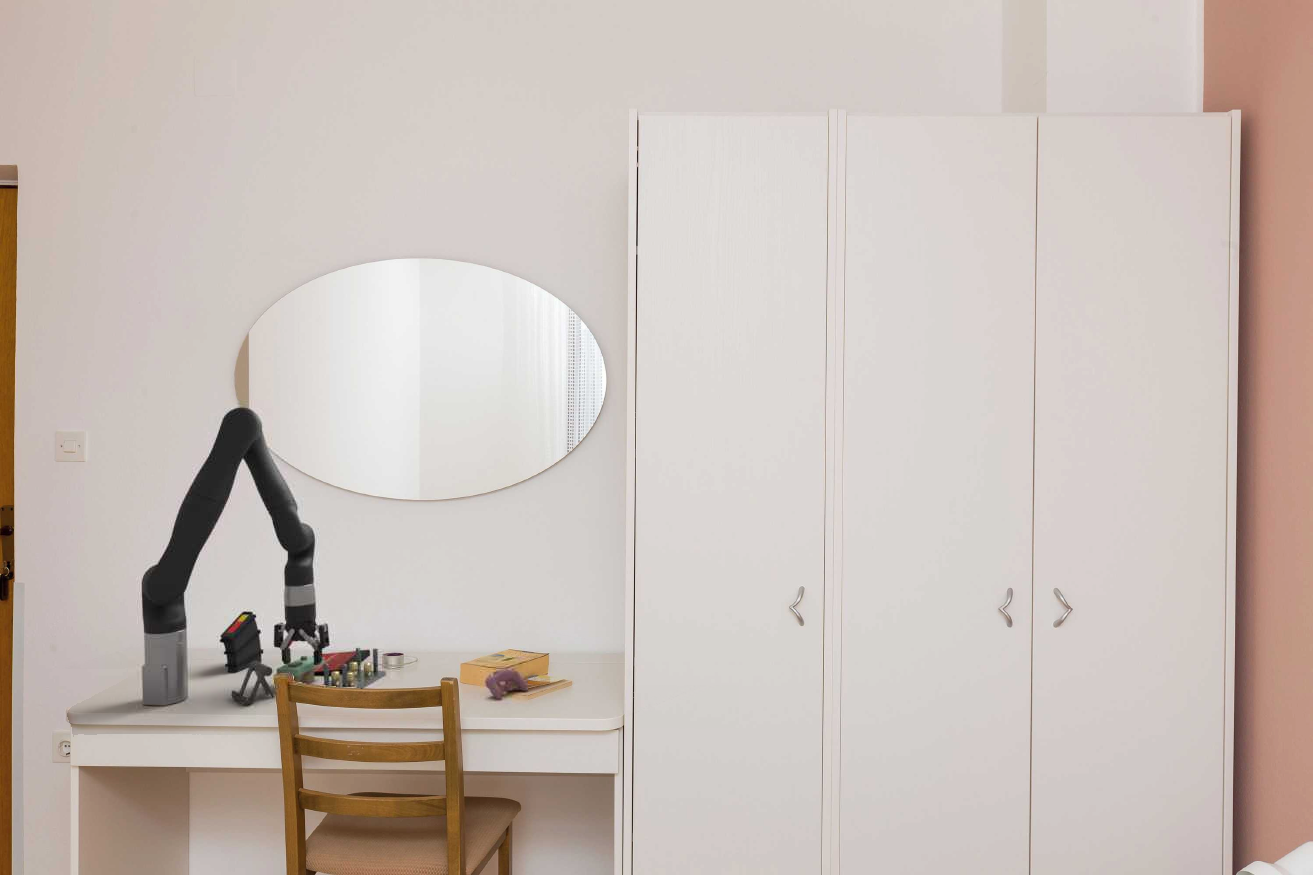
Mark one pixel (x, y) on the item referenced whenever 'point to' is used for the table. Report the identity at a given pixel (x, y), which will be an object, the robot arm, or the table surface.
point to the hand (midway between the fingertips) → (302, 663)
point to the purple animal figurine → (510, 679)
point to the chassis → (354, 673)
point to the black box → (242, 642)
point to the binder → (339, 661)
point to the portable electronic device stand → (261, 672)
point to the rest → (305, 677)
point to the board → (299, 666)
